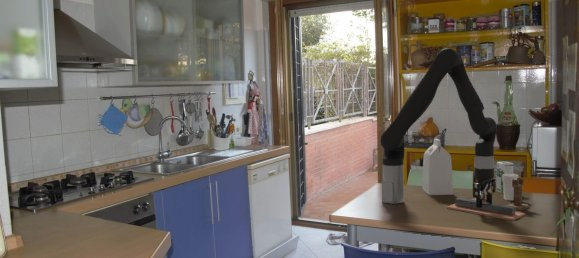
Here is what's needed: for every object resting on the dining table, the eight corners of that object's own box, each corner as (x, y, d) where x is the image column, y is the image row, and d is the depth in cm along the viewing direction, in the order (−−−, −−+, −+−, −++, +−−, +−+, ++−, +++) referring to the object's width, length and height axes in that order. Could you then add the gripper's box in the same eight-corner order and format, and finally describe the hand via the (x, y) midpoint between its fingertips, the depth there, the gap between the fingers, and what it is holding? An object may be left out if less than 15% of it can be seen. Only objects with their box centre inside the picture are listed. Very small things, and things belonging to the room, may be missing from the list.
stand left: (483, 204, 208) (483, 176, 207) (470, 202, 212) (470, 175, 211) (491, 201, 212) (491, 174, 211) (478, 199, 217) (478, 172, 216)
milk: (453, 194, 228) (453, 140, 226) (429, 195, 228) (428, 141, 226) (445, 189, 240) (445, 137, 238) (422, 189, 240) (422, 138, 238)
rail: (511, 215, 186) (512, 208, 185) (455, 205, 204) (455, 198, 203) (515, 214, 187) (515, 206, 187) (459, 204, 206) (459, 197, 205)
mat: (513, 220, 182) (513, 218, 182) (446, 208, 203) (446, 206, 203) (524, 215, 188) (524, 213, 188) (459, 204, 209) (459, 202, 209)
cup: (502, 200, 214) (502, 176, 213) (501, 197, 220) (502, 173, 219) (518, 201, 211) (518, 176, 210) (517, 197, 217) (517, 174, 216)
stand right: (521, 210, 196) (521, 181, 195) (506, 208, 200) (506, 179, 199) (528, 207, 200) (528, 178, 199) (514, 205, 205) (514, 177, 204)
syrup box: (495, 191, 232) (495, 161, 231) (507, 190, 232) (507, 161, 231) (501, 193, 226) (502, 163, 225) (513, 193, 227) (514, 162, 225)
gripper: (483, 163, 202) (483, 201, 203) (466, 167, 192) (466, 207, 194) (501, 165, 196) (501, 203, 197) (484, 169, 187) (484, 210, 188)
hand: (484, 205), depth 195 cm, fingers open, 8 cm apart
